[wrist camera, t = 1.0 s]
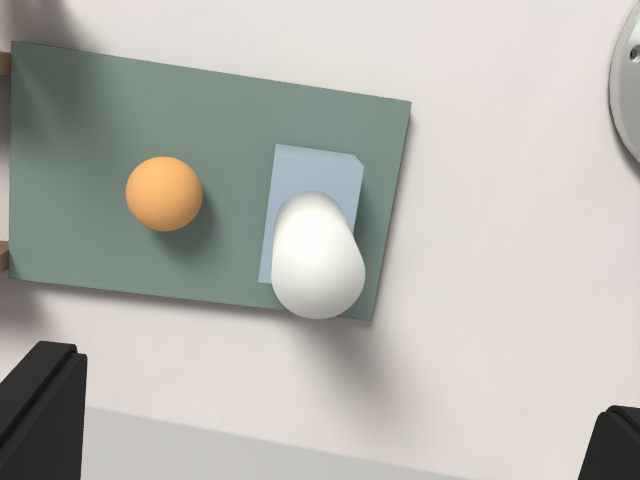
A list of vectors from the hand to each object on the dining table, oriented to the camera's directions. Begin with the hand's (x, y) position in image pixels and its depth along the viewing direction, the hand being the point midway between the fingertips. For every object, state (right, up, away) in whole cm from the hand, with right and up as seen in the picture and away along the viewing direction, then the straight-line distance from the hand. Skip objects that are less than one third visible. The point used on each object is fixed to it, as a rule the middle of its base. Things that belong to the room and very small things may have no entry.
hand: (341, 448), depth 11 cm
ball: (-8, +6, +18) cm, 21 cm away
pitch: (-6, +7, +21) cm, 23 cm away
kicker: (-1, +5, +20) cm, 21 cm away
